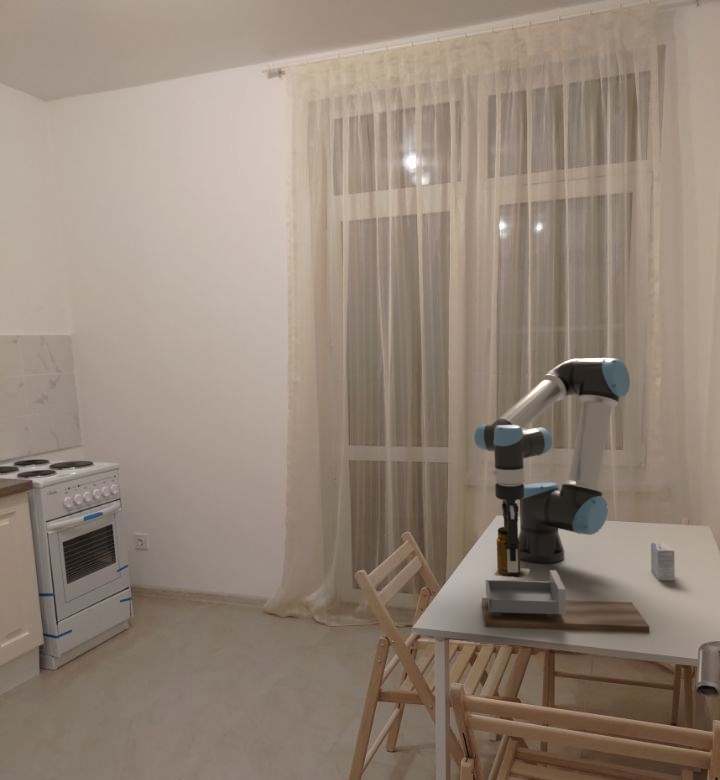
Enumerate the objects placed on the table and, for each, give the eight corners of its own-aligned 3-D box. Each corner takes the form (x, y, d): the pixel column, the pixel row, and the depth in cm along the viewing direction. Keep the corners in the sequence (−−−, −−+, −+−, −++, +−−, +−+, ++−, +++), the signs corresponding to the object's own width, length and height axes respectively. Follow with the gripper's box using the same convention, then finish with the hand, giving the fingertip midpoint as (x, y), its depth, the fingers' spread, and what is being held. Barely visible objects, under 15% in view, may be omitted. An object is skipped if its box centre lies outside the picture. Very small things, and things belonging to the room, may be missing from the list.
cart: (486, 597, 162) (485, 568, 162) (556, 599, 160) (556, 570, 159) (489, 618, 149) (488, 587, 149) (565, 621, 147) (565, 589, 146)
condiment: (499, 566, 174) (497, 524, 173) (530, 569, 171) (529, 526, 170) (493, 575, 168) (492, 532, 167) (526, 579, 164) (524, 534, 163)
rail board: (482, 603, 163) (482, 597, 163) (631, 608, 158) (631, 602, 157) (485, 626, 149) (485, 620, 149) (649, 632, 144) (649, 626, 144)
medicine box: (675, 581, 175) (675, 551, 174) (657, 580, 176) (657, 550, 175) (667, 571, 183) (667, 542, 182) (650, 571, 183) (650, 542, 183)
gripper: (492, 475, 178) (494, 555, 179) (497, 491, 159) (500, 580, 161) (519, 475, 177) (521, 555, 178) (528, 491, 158) (530, 580, 160)
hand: (511, 567), depth 169 cm, fingers closed on condiment, 6 cm apart
